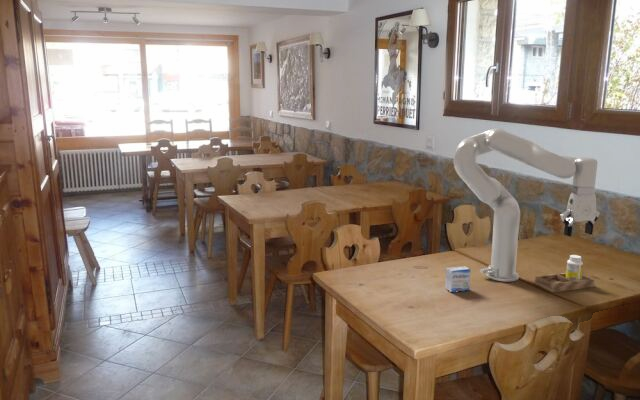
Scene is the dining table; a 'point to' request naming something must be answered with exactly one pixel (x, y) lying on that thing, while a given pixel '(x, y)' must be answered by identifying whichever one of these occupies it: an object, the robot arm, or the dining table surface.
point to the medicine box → (457, 278)
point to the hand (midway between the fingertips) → (578, 234)
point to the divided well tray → (562, 282)
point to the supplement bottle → (574, 268)
